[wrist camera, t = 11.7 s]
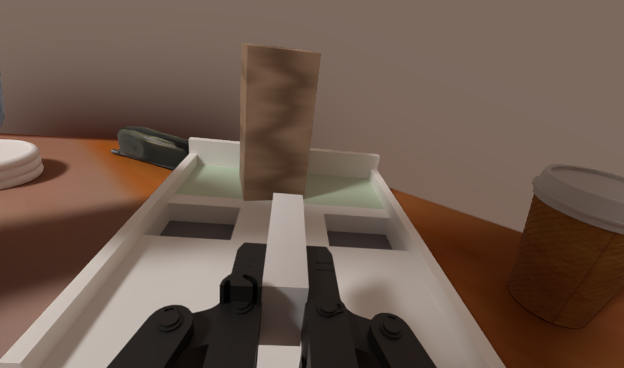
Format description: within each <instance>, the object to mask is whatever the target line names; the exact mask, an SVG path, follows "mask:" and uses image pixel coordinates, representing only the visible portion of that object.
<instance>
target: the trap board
mask: <svg viewBox="0 0 624 368" xmlns="http://www.w3.org/2000/svg"><path fill="white" fill-rule="evenodd" d="M379 158H380V157H379V155H378V154H369V153H358V152H347V151H335V150H325V149H313V148H310V152H309V161H308V170H307V178H306V187H305V196H304V199H303V206H304V221H305V237H306V246H322V247H327V248H328V250H329V251H330V252H331V254H332V256H333V261H334V267H335V272H336V278H337V283H338V289H339V294H340V299H341V301H342V302H343V303H344V304H345V306H346V308H347V309H348V310H349V311H351V312H352V313H354V314H356V315H358V316H361V317H364V318H367V319H372V318H373V317H374V316H375V315H376V314H379V313H391V314H394V315H397V316H398V317H400V318H401V319H403V320H404V321H405V322H406V323H407V324H408V325H409V327H410V328H411V330H412V331H413V333H414V334H415V336H416V337H417V339H418V340H419V342H420V343H421V345H422V346H423V347H424V349H425V350H426V352H427V353H428V355H429V356H430V358H431V359H432V361H433V362H434V364H435V365H436V367H437V368H506V367H505V365H504V364H503V362H502V361H501V359H500V358H499V356H498V355H497V353H496V352H495V350H494V349H493V347H492V345H491V344H490V342H489V341H488V339H487V338H486V336H485V335H484V333H483V332H482V330H481V329H480V327H479V326H478V324H477V322H476V321H475V319H474V318H473V316H472V315H471V313H470V312H469V310H468V309H467V307H466V306H465V304H464V303H463V301H462V299H461V298H460V296H459V295H458V293H457V292H456V290H455V289H454V287H453V286H452V284H451V283H450V281H449V280H448V278H447V276H446V275H445V273H444V272H443V270H442V269H441V267H440V266H439V264H438V263H437V261H436V260H435V258H434V257H433V255H432V253H431V252H430V250H429V249H428V247H427V246H426V244H425V243H424V241H423V240H422V238H421V237H420V235H419V234H418V232H417V230H416V229H415V227H414V226H413V224H412V223H411V221H410V220H409V218H408V217H407V215H406V214H405V212H404V211H403V209H402V207H401V206H400V204H399V203H398V201H397V200H396V198H395V197H394V195H393V194H392V192H391V191H390V189H389V188H388V186H387V185H386V183H385V181H384V180H383V178H382V177H381V176H380V174H379V172H378V171H377V167H378V163H379ZM239 168H240V142H237V141H227V140H215V139H205V138H193V137H191V138H190V139H189V155H188V156H187V157H186V158H185V159H184V160H183V161H182V162H181V163H180V164H179V165H178V166H177V168H176V169H175V170H174V171H173V172H172V173H171V174H170V175H169V176H168V177H167V178H166V180H165V181H164V182H163V183H162V184H161V185H160V186H159V187H158V188H157V189H156V190H155V192H154V193H153V194H152V195H151V196H150V197H149V198H148V199H147V200H146V201H145V202H144V204H143V205H142V206H141V207H140V208H139V209H138V210H137V211H136V212H135V213H134V214H133V215H132V217H131V218H130V219H129V220H128V221H127V222H126V223H125V224H124V225H123V226H122V227H121V229H120V230H119V231H118V232H117V233H116V234H115V235H114V236H113V237H112V238H111V239H110V241H109V242H108V243H107V244H106V245H105V246H104V247H103V248H102V249H101V250H100V251H99V252H98V254H97V255H96V256H95V257H94V258H93V259H92V260H91V261H90V262H89V263H88V264H87V266H86V267H85V268H84V269H83V270H82V271H81V272H80V273H79V274H78V275H77V276H76V278H75V279H74V280H73V281H72V282H71V283H70V284H69V285H68V286H67V287H66V288H65V289H64V291H63V292H62V293H61V294H60V295H59V296H58V297H57V298H56V299H55V300H54V301H53V303H52V304H51V305H50V306H49V307H48V308H47V309H46V310H45V311H44V312H43V313H42V315H41V316H40V317H39V318H38V319H37V320H36V321H35V322H34V323H33V324H32V325H31V326H30V328H29V329H28V330H27V331H26V332H25V333H24V334H23V335H22V336H21V337H20V338H19V340H18V341H17V342H16V343H15V344H14V345H13V346H12V347H11V348H10V349H9V350H8V352H7V353H6V354H5V355H4V356H3V357H2V358H1V359H0V368H107V366H108V365H109V364H110V363H111V362H112V360H113V359H114V358H115V357H116V356H117V354H118V353H119V352H120V351H121V350H122V348H123V347H124V346H125V345H126V344H127V342H128V341H129V340H130V339H131V338H132V336H133V335H134V334H135V333H136V332H137V330H138V329H139V328H140V327H141V326H142V325H143V323H144V322H145V321H146V320H147V319H148V317H149V316H150V315H152V314H153V313H154V312H155V311H156V310H158V309H160V308H162V307H164V306H169V305H183V306H185V307H187V308H189V310H190V311H191V312H192V313H195V312H199V311H204V310H207V309H210V308H212V307H214V306H216V305H217V304H219V303H220V283H221V282H222V280H223V279H224V278H225V277H226V276H228V275H230V274H231V272H232V269H233V265H234V261H235V257H236V253H237V250H238V248H239V247H240V246H241V245H242V244H243V243H244V242H246V243H262V244H267V241H268V233H269V225H270V217H271V208H272V200H264V201H244V200H243V194H242V188H241V183H240V177H239ZM300 357H301V344H300V346H273V345H259V347H258V359H257V368H299V363H300Z"/></svg>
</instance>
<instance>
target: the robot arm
mask: <svg viewBox="0 0 624 368" xmlns="http://www.w3.org/2000/svg"><path fill="white" fill-rule="evenodd" d="M4 117H5V115H4V101H3V91H2V82H1V74H0V128H1V127H2V125H3V122H4ZM300 344H301V357H300V363H299V368H437V367H436V365H435V364H434V362H433V361H432V359H431V358H430V356H429V355H428V353H427V352H426V350H425V349H424V347H423V346H422V345H421V343H420V342H419V340H418V339H417V337H416V336H415V334H414V333H413V331H412V330H411V328H410V327H409V325H408V324H407V323H406V322H405V321H404V320H403V319H401V318H400V317H398V316H397V315H394V314H391V313H379V314H376V315H375V316H374V317H373V318H372V319H367V318H364V317H361V316H358V315H356V314H354V313H352V312H351V311H349V310H348V309H347V308H346V306H345V304H344V303H343V302H342V301H341V299H340V294H339V289H338V283H337V278H336V272H335V267H334V261H333V256H332V254H331V252H330V251H329V250H328V248H327V247H322V246H306V237H305V221H304V206H303V195H295V194H283V193H273V200H272V208H271V217H270V225H269V233H268V241H267V244H262V243H246V242H244V243H243V244H242V245H241V246H240V247H239V248H238V250H237V253H236V257H235V261H234V265H233V269H232V272H231V274H230V275H228V276H226V277H225V278H224V279H223V280H222V282H221V283H220V303H219V304H217V305H216V306H214V307H212V308H210V309H207V310H204V311H199V312H195V313H192V312H191V311H190V310H189V308H187V307H185V306H183V305H169V306H164V307H162V308H160V309H158V310H156V311H155V312H154V313H153V314H152V315H150V316H149V317H148V319H147V320H146V321H145V322H144V323H143V325H142V326H141V327H140V328H139V329H138V330H137V332H136V333H135V334H134V335H133V336H132V338H131V339H130V340H129V341H128V342H127V344H126V345H125V346H124V347H123V348H122V350H121V351H120V352H119V353H118V354H117V356H116V357H115V358H114V359H113V360H112V362H111V363H110V364H109V365H108V366H107V368H257V359H258V347H259V345H273V346H300Z"/></svg>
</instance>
